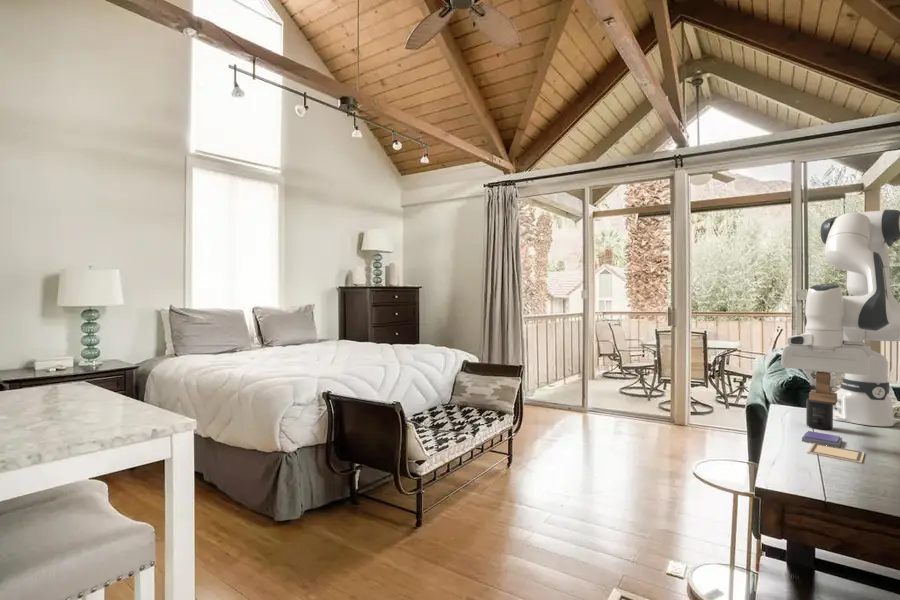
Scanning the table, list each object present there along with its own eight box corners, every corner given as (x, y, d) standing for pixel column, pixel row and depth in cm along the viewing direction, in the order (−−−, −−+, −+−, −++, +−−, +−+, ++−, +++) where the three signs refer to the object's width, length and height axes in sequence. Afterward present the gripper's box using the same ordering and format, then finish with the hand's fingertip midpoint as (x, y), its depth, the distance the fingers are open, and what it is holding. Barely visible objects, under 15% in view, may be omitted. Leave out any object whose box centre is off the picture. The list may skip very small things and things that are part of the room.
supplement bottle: (838, 429, 149) (839, 392, 149) (821, 431, 147) (822, 393, 147) (816, 424, 155) (817, 388, 155) (800, 425, 154) (801, 389, 154)
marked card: (813, 444, 133) (813, 442, 133) (864, 453, 125) (864, 451, 125) (807, 452, 125) (807, 451, 125) (861, 463, 118) (861, 461, 118)
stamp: (811, 398, 140) (811, 370, 140) (837, 401, 136) (837, 372, 136) (809, 401, 136) (809, 372, 136) (835, 404, 132) (835, 374, 132)
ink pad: (806, 435, 142) (806, 430, 142) (842, 441, 136) (842, 436, 136) (801, 441, 136) (801, 436, 136) (839, 448, 130) (839, 442, 130)
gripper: (872, 341, 131) (871, 390, 131) (783, 336, 145) (783, 380, 145) (871, 343, 126) (870, 393, 127) (780, 337, 141) (779, 383, 141)
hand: (823, 386), depth 136 cm, fingers closed on stamp, 3 cm apart
